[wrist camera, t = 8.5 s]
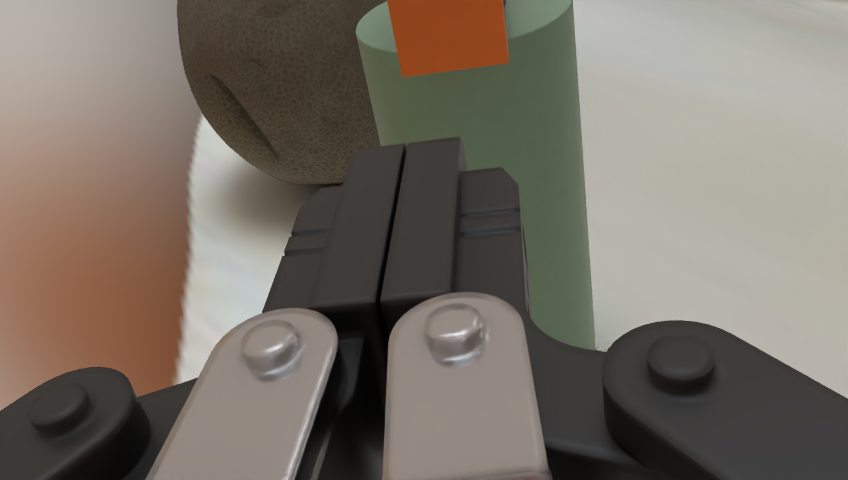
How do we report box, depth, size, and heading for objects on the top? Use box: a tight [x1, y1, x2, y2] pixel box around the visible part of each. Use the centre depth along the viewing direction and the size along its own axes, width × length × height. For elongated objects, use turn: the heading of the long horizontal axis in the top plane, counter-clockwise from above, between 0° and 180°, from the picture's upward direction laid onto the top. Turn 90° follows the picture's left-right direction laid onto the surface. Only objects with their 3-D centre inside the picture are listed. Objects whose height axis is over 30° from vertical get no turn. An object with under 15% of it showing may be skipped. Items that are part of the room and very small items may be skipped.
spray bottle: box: [356, 0, 596, 350], centre depth 25 cm, size 8×6×20 cm
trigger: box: [387, 0, 509, 77], centre depth 19 cm, size 1×3×3 cm, turn 85°
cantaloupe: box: [177, 0, 387, 184], centre depth 43 cm, size 14×14×15 cm
